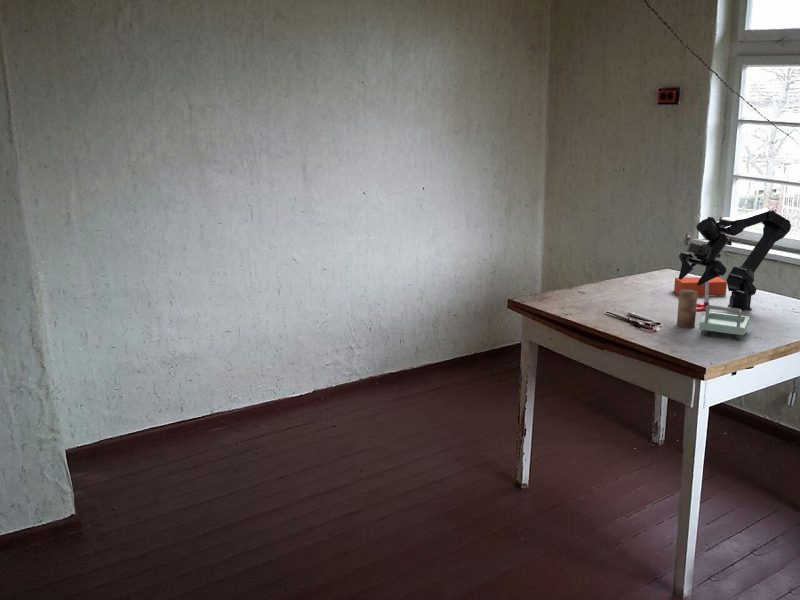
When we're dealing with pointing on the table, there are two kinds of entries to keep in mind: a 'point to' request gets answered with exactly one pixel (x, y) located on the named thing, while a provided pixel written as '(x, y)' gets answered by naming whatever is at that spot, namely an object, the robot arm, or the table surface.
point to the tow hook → (706, 299)
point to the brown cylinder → (687, 308)
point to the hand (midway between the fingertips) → (688, 282)
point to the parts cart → (724, 321)
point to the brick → (701, 286)
